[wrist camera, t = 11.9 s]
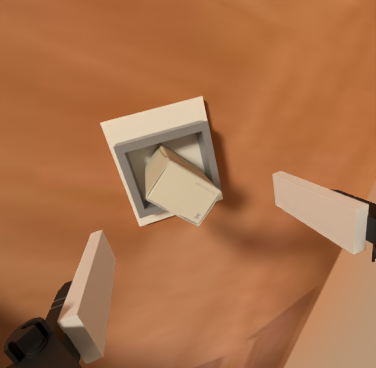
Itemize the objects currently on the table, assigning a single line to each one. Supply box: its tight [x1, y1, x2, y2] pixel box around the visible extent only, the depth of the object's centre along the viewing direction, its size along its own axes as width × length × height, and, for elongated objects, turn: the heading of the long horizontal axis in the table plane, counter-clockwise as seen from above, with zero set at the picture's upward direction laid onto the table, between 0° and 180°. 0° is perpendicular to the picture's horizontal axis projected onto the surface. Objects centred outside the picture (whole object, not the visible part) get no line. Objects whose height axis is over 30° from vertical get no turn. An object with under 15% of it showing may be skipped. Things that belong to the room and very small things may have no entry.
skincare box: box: [145, 143, 221, 226], centre depth 25 cm, size 6×4×12 cm
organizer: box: [100, 96, 223, 226], centre depth 30 cm, size 14×16×5 cm
